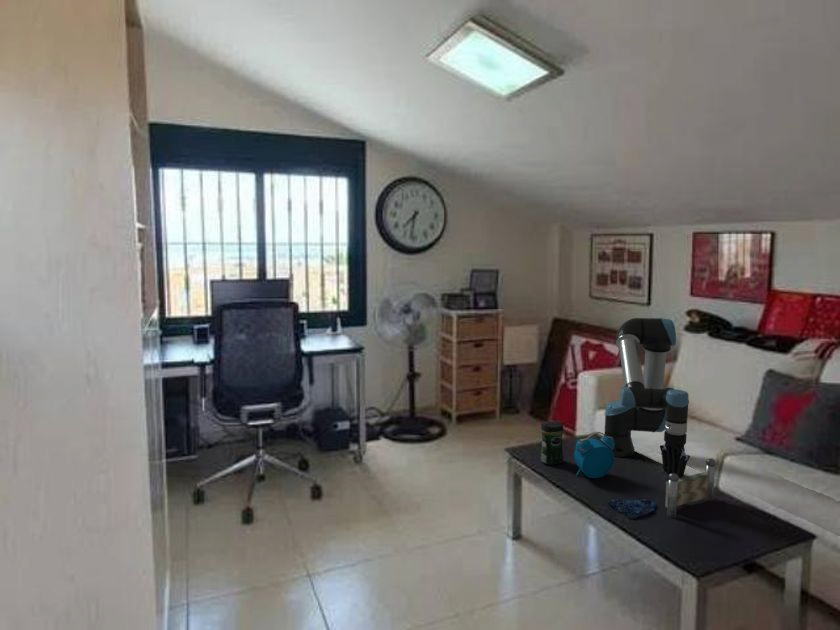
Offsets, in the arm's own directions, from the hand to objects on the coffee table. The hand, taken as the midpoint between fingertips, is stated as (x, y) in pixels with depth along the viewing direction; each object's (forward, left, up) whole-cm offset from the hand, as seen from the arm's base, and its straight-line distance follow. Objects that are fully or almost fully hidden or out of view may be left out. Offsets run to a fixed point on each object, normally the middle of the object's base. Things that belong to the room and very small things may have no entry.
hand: (672, 492), depth 216 cm
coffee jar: (+8, -53, -4) cm, 54 cm away
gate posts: (-1, +7, -4) cm, 8 cm away
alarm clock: (+6, -32, -4) cm, 33 cm away
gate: (-2, +5, -2) cm, 6 cm away
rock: (+16, -5, -4) cm, 17 cm away
